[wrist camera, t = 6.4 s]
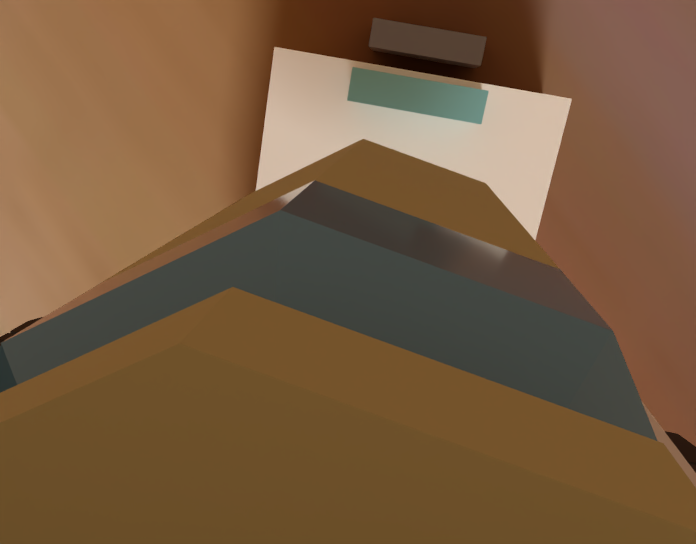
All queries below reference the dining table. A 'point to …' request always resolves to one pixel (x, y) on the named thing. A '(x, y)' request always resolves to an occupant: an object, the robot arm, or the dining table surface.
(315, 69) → the block
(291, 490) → the jar
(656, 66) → the dining table surface
